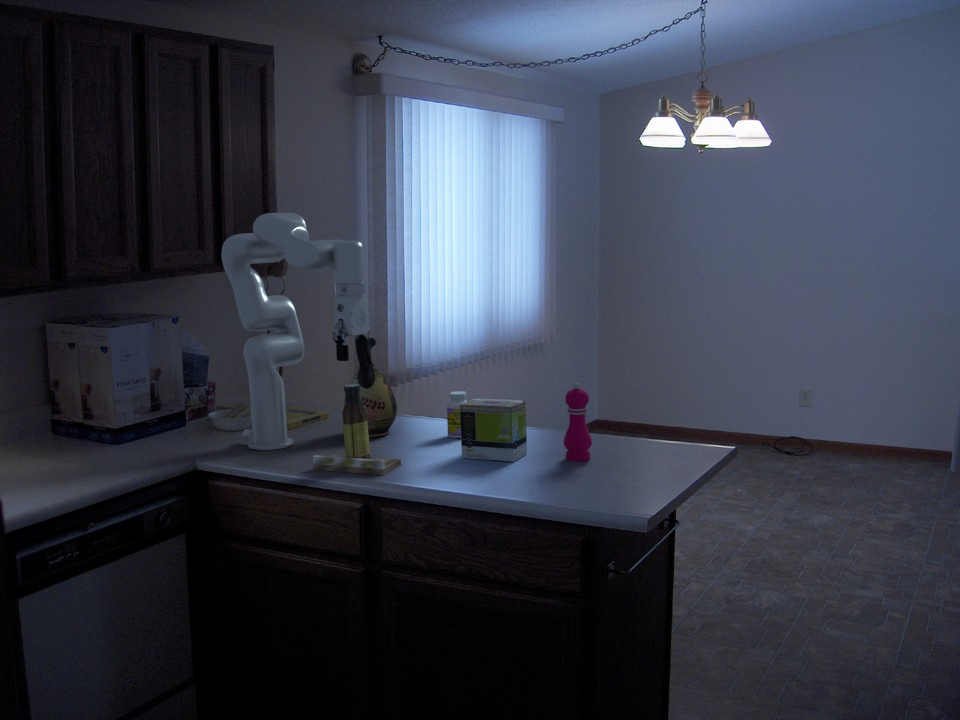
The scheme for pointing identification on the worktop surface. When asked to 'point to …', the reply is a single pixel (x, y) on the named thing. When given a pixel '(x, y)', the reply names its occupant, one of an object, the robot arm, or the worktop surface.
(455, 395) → the supplement bottle
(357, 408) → the sauce bottle
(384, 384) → the ceramic jug
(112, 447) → the worktop surface
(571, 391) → the pepper mill
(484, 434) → the tea box
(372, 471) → the tan white-edged panel
